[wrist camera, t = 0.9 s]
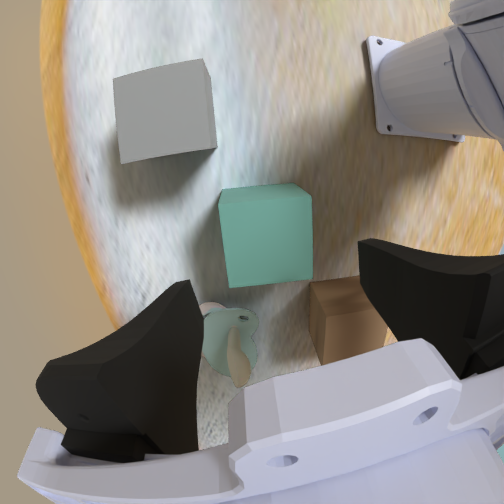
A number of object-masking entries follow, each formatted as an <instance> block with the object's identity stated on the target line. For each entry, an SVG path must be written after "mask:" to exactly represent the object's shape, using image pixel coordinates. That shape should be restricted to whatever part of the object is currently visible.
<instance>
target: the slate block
mask: <svg viewBox="0 0 504 504" xmlns="http://www.w3.org/2000/svg"><path fill="white" fill-rule="evenodd" d="M113 89H114V104H115V117H116V127H117V136H118V145H119V152H120V160H121V164H125V163H129V162H134V161H139V160H144V159H149V158H154V157H160V156H165V155H171V154H177V153H183V152H190V151H197V150H204V149H211V148H216V147H218V146H217V136H216V127H215V117H214V107H213V96H212V86H211V77H210V75H209V73H208V70H207V68H206V66H205V63H204V61H203V59H197V60H190V61H185V62H179V63H174V64H169V65H164V66H159V67H155V68H151V69H147V70H143V71H139V72H135V73H131V74H128V75H124V76H121V77H118V78H114V79H113Z"/></svg>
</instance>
